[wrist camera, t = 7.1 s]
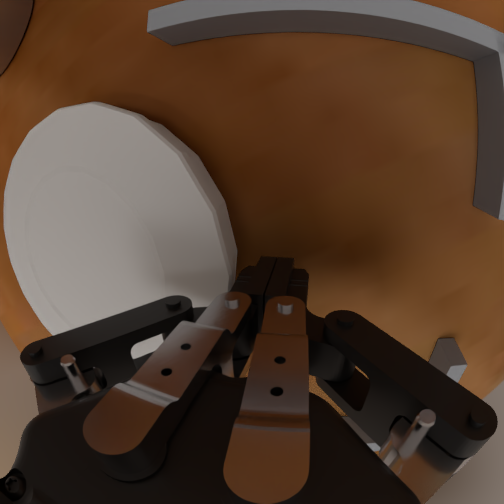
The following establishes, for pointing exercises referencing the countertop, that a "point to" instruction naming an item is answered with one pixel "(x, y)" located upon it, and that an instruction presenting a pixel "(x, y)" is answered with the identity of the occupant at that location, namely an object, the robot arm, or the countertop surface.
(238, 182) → the countertop surface
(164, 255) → the lid
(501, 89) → the lid holder
